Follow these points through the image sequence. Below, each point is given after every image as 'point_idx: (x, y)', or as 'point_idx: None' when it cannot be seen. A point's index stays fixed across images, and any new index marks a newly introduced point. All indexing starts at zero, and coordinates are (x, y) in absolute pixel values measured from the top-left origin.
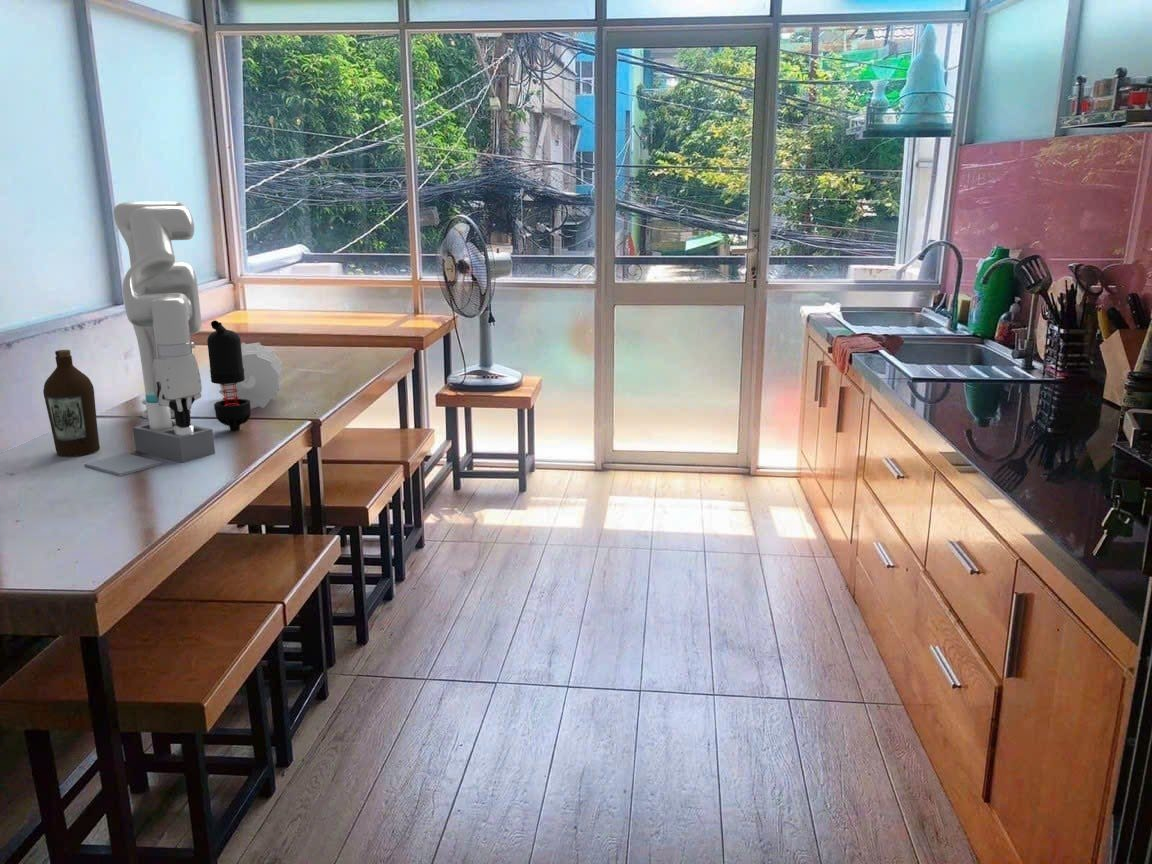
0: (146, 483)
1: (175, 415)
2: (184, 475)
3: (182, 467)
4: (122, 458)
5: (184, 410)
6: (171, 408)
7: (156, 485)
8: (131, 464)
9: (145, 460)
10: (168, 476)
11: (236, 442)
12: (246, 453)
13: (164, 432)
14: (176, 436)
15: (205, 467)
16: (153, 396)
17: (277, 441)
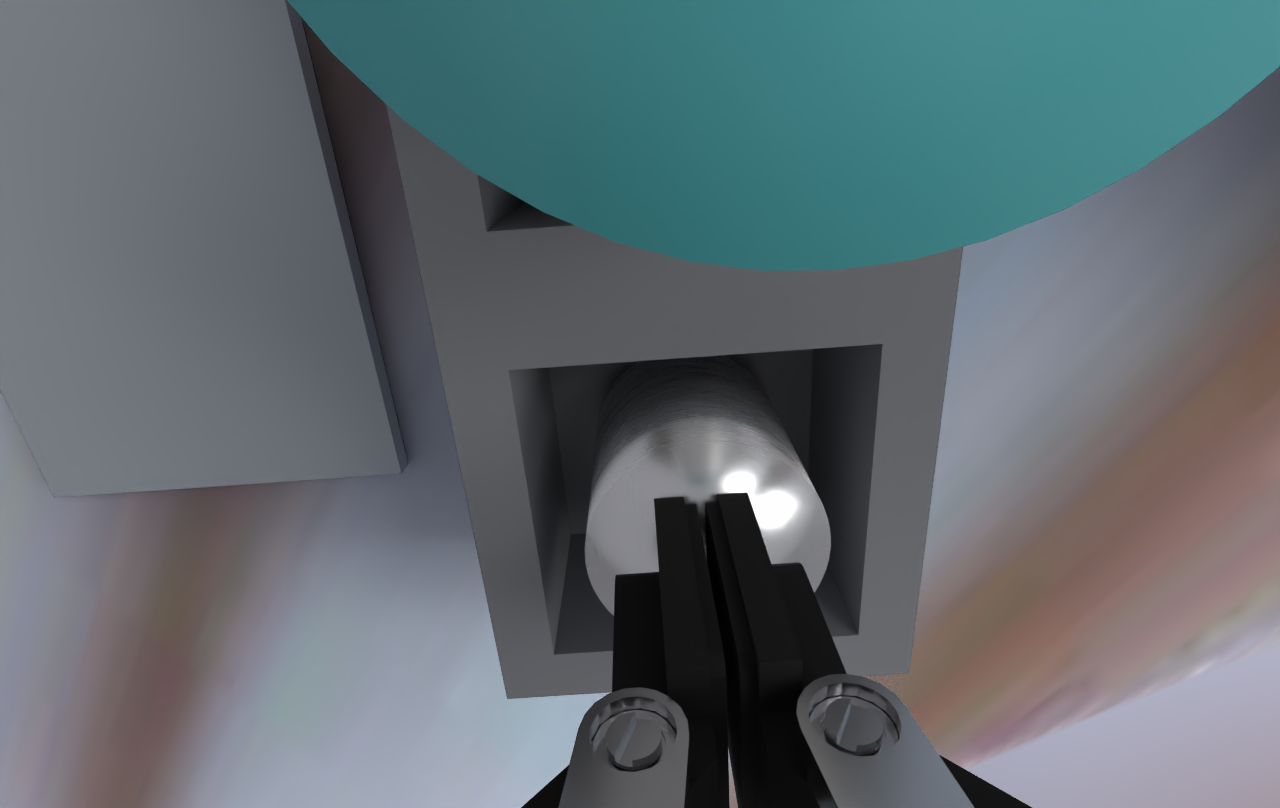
0: (179, 720)
1: (616, 672)
2: (413, 751)
3: (483, 626)
4: (166, 80)
5: (758, 789)
6: (548, 796)
7: (217, 780)
8: (186, 349)
9: (323, 336)
10: (333, 706)
11: (1148, 402)
12: (931, 677)
13: (528, 364)
14: (516, 638)
15: (581, 720)
16: (356, 48)
17: (1269, 614)
